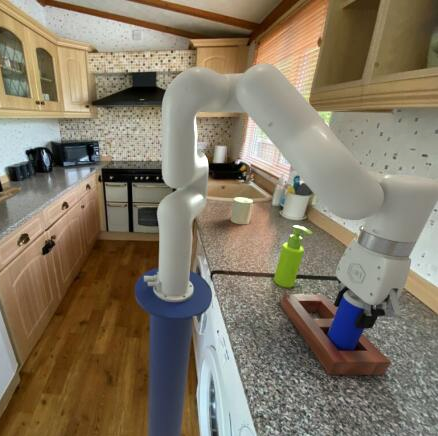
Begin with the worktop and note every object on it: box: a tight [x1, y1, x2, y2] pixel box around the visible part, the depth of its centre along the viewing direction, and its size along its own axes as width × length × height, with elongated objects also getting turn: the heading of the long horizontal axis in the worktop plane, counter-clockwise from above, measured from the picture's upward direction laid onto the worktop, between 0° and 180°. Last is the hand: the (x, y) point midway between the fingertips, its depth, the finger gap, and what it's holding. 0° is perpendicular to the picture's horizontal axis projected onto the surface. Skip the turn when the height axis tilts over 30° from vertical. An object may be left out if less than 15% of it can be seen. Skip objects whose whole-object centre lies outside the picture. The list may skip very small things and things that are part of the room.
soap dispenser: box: [273, 224, 314, 289], centre depth 75 cm, size 6×7×20 cm
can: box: [230, 196, 254, 225], centre depth 124 cm, size 9×9×12 cm
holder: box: [280, 293, 392, 376], centre depth 60 cm, size 12×20×4 cm, turn 0°
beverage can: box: [327, 290, 376, 351], centre depth 53 cm, size 5×5×15 cm
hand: (351, 315), depth 52 cm, fingers closed on beverage can, 5 cm apart
